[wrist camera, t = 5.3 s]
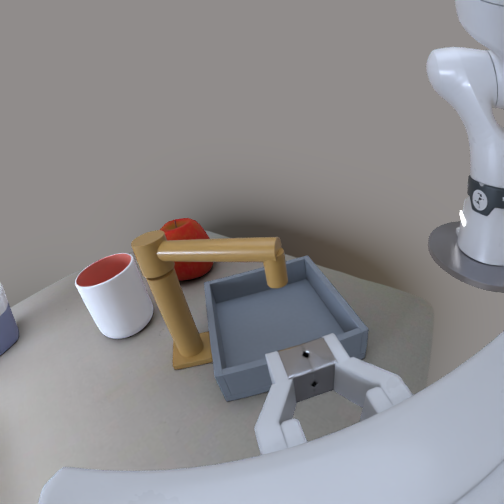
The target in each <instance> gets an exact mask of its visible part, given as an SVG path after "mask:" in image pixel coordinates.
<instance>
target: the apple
mask: <svg viewBox="0 0 504 504" xmlns="http://www.w3.org/2000/svg"><path fill="white" fill-rule="evenodd" d="M160 230H161V231H164V233H165V236H166V239H167V241H170V240H196V239H209V237H208V235H207V234H206V232H205V231H204V229H203V228H202V227H201V225H200V224H198V223H197V222H196V221H195V220H192V219H189V218H183V219H176V220H173V221H169V222H167V223H166V224H165V225H164V226H163V227H162V228H161V229H160ZM174 263H175V265H174V269H175V272H176V274H177V277H178V280H181V281H183V280H189V279H194V278H198V277H201V276H203V275H204V274H206V273H207V272H209V270H210V269H211V267H212V265H213V262H178V261H174Z"/></svg>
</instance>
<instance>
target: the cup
mask: <svg viewBox="0 0 504 504" xmlns="http://www.w3.org/2000/svg"><path fill="white" fill-rule="evenodd" d="M75 285H76V287H77V289H78V291H79V293H80V295H81V297H82V299H83V301H84V303H85V305H86V307H87V308H88V310H89V312H90V314H91V316H92V318H93V319H94V321H95V323H96V325H97V326H98V328H99V330H100V331H101V332H102V333H103V334H104V335H105V336H107V337H109V338H114V339H120V338H126V337H129V336H132V335H134V334H136V333H137V332H139V331H140V330H142V329H143V328H144V327H145V326H146V325H147V324H148V323H149V321H150V320H151V317H152V315H153V304H152V302H151V299H150V297H149V295H148V293H147V290H146V288H145V285H144V283H143V281H142V278H141V276H140V273H139V271H138V268H137V266H136V263H135V261H134V258H133V256H132V255H130V254H128V253H119V254H113V255H110V256H107V257H104V258H102V259H100V260H98V261H96V262H94V263H92V264H91V265H89V266H88V267H86V268H85V269H84V270H83V271H82V272H81V273H80V274H79V275H78V276H77V278H76V280H75Z"/></svg>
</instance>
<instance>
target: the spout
mask: <svg viewBox="0 0 504 504" xmlns="http://www.w3.org/2000/svg"><path fill="white" fill-rule="evenodd" d="M131 246H132V248H133V251H134V254H135V256H136V259H137V262H138V264H139V267H140V269H141V272H142V274H143V276H144V277H146V278H156V277H159V276H162V275H164V274H166V273H168V272H169V271H171V270H172V269H173V267H174V265H175V263H174V261H178V262H263V264H264V269H265V274H266V280H267V285H268V286H269V287H271V288H282V287H284V286H285V285H287V283H288V276H287V269H286V262H285V255H284V250H283V249H282V248H281V242H280V239H279V237H260V238H259V237H258V238H225V239H196V240H170V241H167V239H166V236H165V233H164V231H161V230H157V231H151V232H148V233H145V234H143V235H141V236H139V237H137V238H136V239H134V240H133V241H132V243H131Z"/></svg>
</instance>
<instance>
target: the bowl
mask: <svg viewBox="0 0 504 504" xmlns="http://www.w3.org/2000/svg"><path fill="white" fill-rule="evenodd" d="M18 336H19V330H18V327H17V324H16V322H15V319H14V317H13V314H12V311H11V309H10V306H9V303H8V300H7V297H6V294H5V291H4V288H3V285H2V284H1V283H0V355H1V354H3V353H4V352H5V351H6V350H7V349H9V348H10V347H11V346H12V345H13V344H14V343H15V342H16V341H17V339H18Z"/></svg>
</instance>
